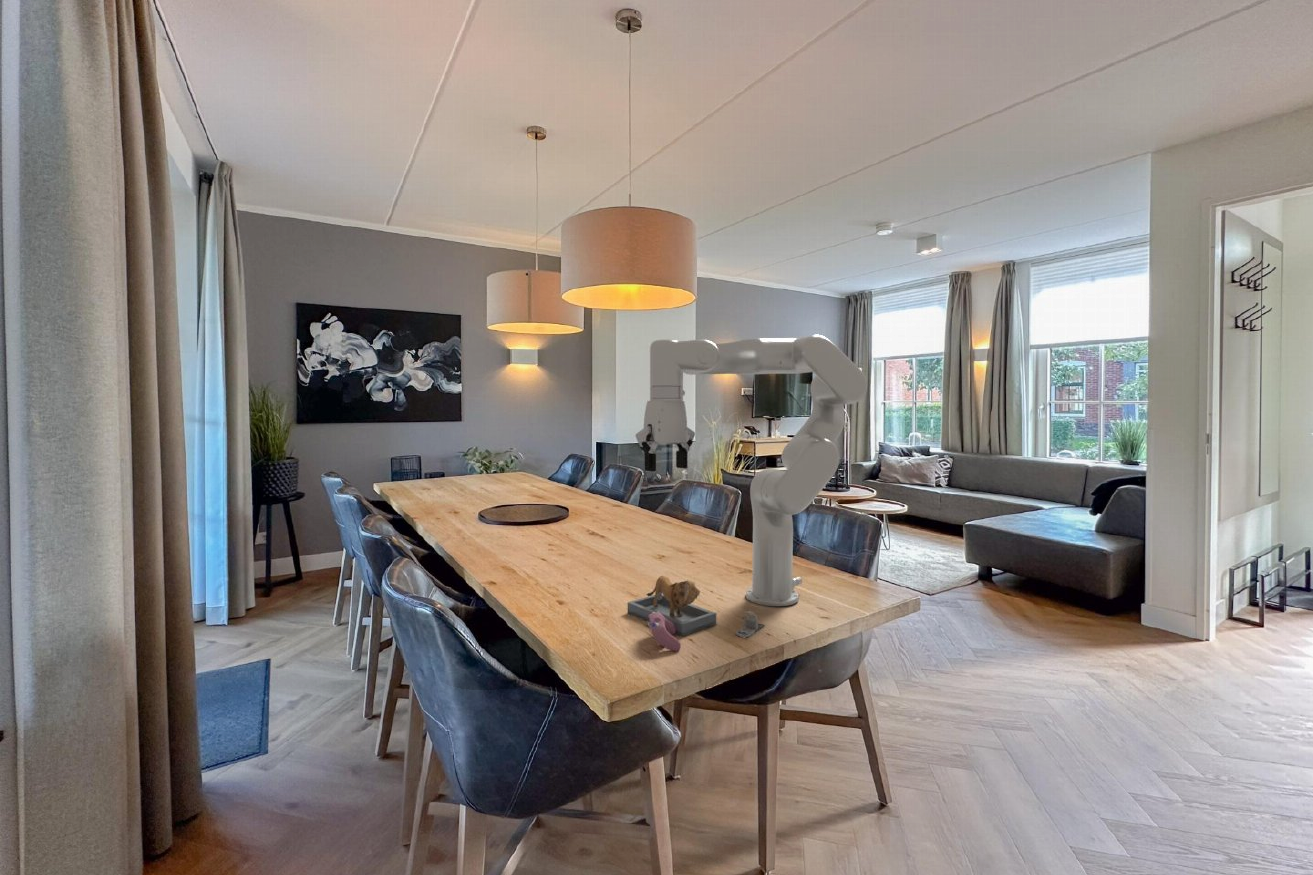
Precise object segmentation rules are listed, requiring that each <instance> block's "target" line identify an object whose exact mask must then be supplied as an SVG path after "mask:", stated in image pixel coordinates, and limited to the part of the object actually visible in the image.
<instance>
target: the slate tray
mask: <svg viewBox="0 0 1313 875" xmlns="http://www.w3.org/2000/svg"><path fill="white" fill-rule="evenodd" d="M654 597H655V594H652V595H651V596H644V597H642V598H639V599H635V600H630V601H627V614H628V615H631V616H634V617H636V618H638V619H641V620H642V621H645V622H647V623H648V622H649V623H650V620H649V616H648V615H650V614H651V613H653V612H655V613H656V612H657V611H658V612H659V613H661V614H662V615H663V616H664V617H665V618H666V619H667V620H669V621H670V622H672V623H673V624H674V626H675V627H676V632H675V634H676V635H678V636H681V637H685V636H687V635H690V634H694V633H697V632H699V631H702V630H705V629H708V628H711V627H714V626H716V625H717V612H714V611H711V610H708V609H706V608H703V607H701V606H697V605H694V604H693V603H691V604H687V606H685V607H682V608H681V610H680V612H681V613H683V615H682V616H678V615H677V614H676V611H677V606H675V610H674V615H675V616H674V617H675V619H674V618H672V617H669V616H670V601H669V600H667V599H666V598H665V597H664V595H663V593H662V594H661V597H662V600H658V599H657V604H658V607H654V606H653V603H654ZM675 634H674V635H675Z"/></svg>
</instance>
